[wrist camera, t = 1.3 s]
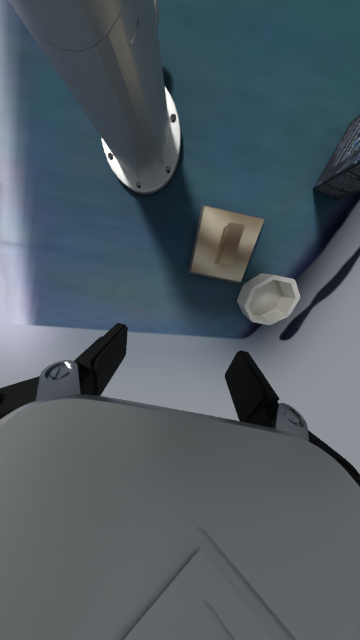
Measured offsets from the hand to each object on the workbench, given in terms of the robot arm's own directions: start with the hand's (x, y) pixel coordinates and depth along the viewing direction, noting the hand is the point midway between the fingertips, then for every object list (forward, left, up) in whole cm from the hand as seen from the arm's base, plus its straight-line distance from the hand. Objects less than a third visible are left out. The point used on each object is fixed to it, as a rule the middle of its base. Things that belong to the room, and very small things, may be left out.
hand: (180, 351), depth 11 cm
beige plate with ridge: (-11, +6, -21) cm, 25 cm away
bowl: (-3, +18, -22) cm, 29 cm away
